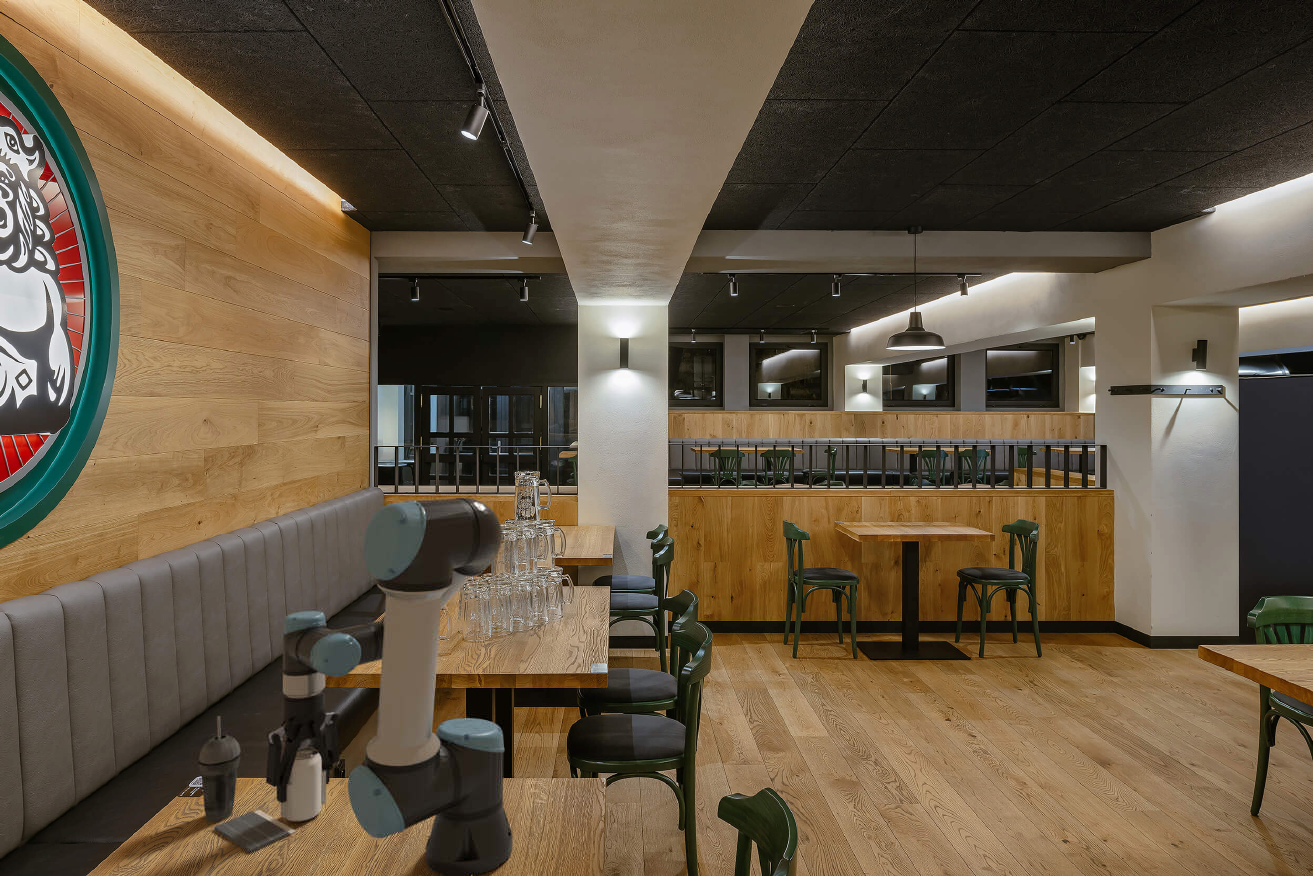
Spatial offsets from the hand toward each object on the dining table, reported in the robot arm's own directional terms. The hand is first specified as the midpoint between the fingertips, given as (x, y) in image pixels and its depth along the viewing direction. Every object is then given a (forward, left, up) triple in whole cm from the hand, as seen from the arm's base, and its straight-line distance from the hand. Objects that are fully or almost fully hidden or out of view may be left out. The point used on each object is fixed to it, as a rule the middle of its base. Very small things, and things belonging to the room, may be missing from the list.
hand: (303, 809), depth 142 cm
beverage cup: (+13, +9, -2) cm, 17 cm away
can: (0, 0, -1) cm, 1 cm away
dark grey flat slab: (+2, +8, -1) cm, 8 cm away
